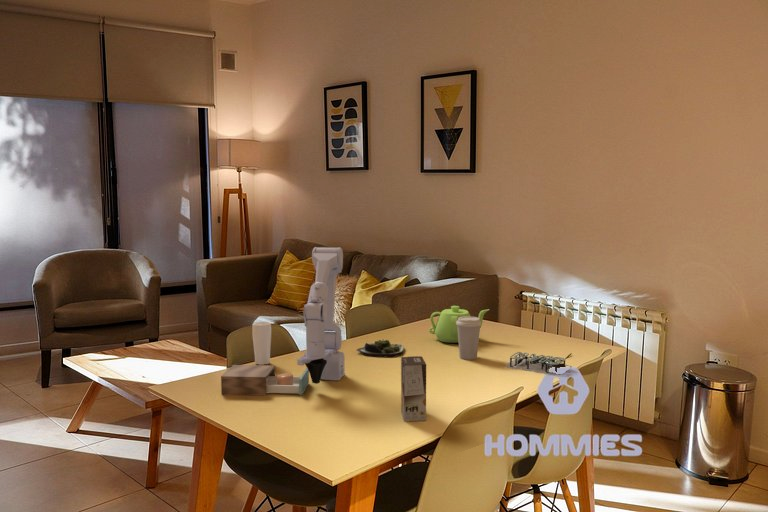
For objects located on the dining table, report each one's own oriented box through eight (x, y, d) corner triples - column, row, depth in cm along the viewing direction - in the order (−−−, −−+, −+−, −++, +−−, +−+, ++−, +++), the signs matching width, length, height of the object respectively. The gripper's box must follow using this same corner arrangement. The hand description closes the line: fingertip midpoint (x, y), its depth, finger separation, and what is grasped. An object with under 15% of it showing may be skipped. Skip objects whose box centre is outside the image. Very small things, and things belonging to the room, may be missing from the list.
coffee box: (426, 421, 182) (427, 364, 180) (403, 421, 181) (403, 365, 179) (422, 409, 191) (422, 355, 189) (400, 410, 190) (400, 356, 188)
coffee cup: (452, 359, 245) (452, 319, 243) (459, 353, 254) (459, 315, 252) (477, 362, 241) (478, 321, 240) (483, 355, 250) (484, 317, 249)
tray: (308, 382, 216) (308, 368, 215) (301, 394, 203) (301, 379, 203) (267, 381, 217) (267, 367, 216) (258, 394, 204) (257, 378, 204)
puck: (281, 383, 213) (281, 372, 213) (295, 384, 211) (295, 374, 211) (274, 388, 208) (274, 377, 208) (289, 389, 207) (288, 378, 206)
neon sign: (586, 347, 247) (559, 365, 223) (585, 358, 248) (559, 377, 223) (532, 340, 259) (502, 356, 235) (532, 351, 259) (501, 368, 235)
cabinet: (275, 382, 217) (275, 365, 216) (265, 395, 204) (265, 377, 203) (233, 381, 218) (233, 364, 217) (221, 394, 205) (221, 376, 204)
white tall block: (267, 366, 236) (266, 325, 234) (250, 365, 237) (249, 324, 235) (274, 361, 242) (273, 321, 241) (257, 360, 244) (256, 321, 242)
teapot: (424, 338, 278) (424, 305, 276) (459, 332, 289) (459, 300, 288) (453, 347, 263) (453, 312, 261) (489, 341, 274) (490, 307, 272)
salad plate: (364, 344, 270) (364, 333, 269) (407, 346, 266) (407, 335, 266) (353, 356, 251) (353, 344, 250) (400, 358, 248) (400, 346, 247)
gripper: (321, 334, 214) (322, 375, 215) (289, 343, 202) (290, 386, 204) (337, 337, 209) (338, 378, 211) (306, 346, 198) (307, 390, 199)
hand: (315, 382), depth 207 cm, fingers closed
